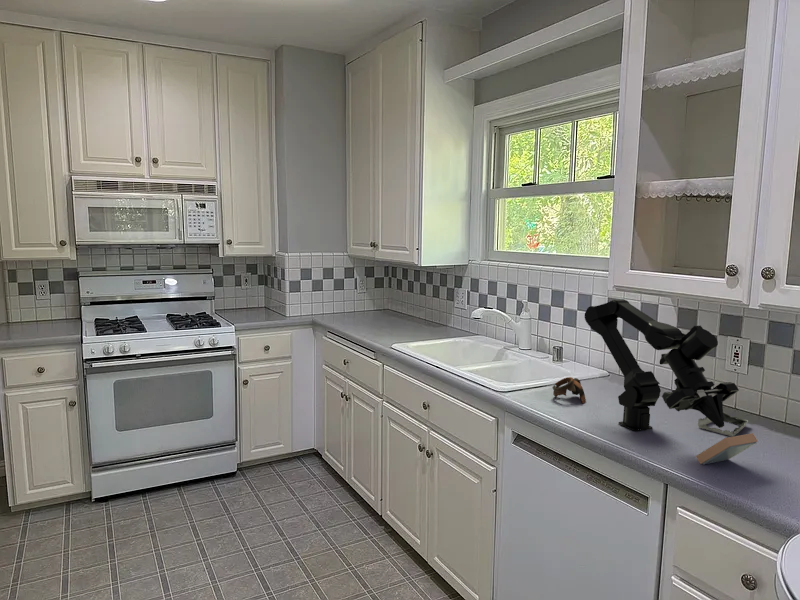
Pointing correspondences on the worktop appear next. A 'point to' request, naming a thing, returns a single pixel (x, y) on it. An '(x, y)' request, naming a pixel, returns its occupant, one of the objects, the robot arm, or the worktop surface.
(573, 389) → the brown arched part
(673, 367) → the robot arm
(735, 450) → the flat brown rectangular block
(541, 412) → the worktop surface
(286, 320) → the worktop surface
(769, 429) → the worktop surface
